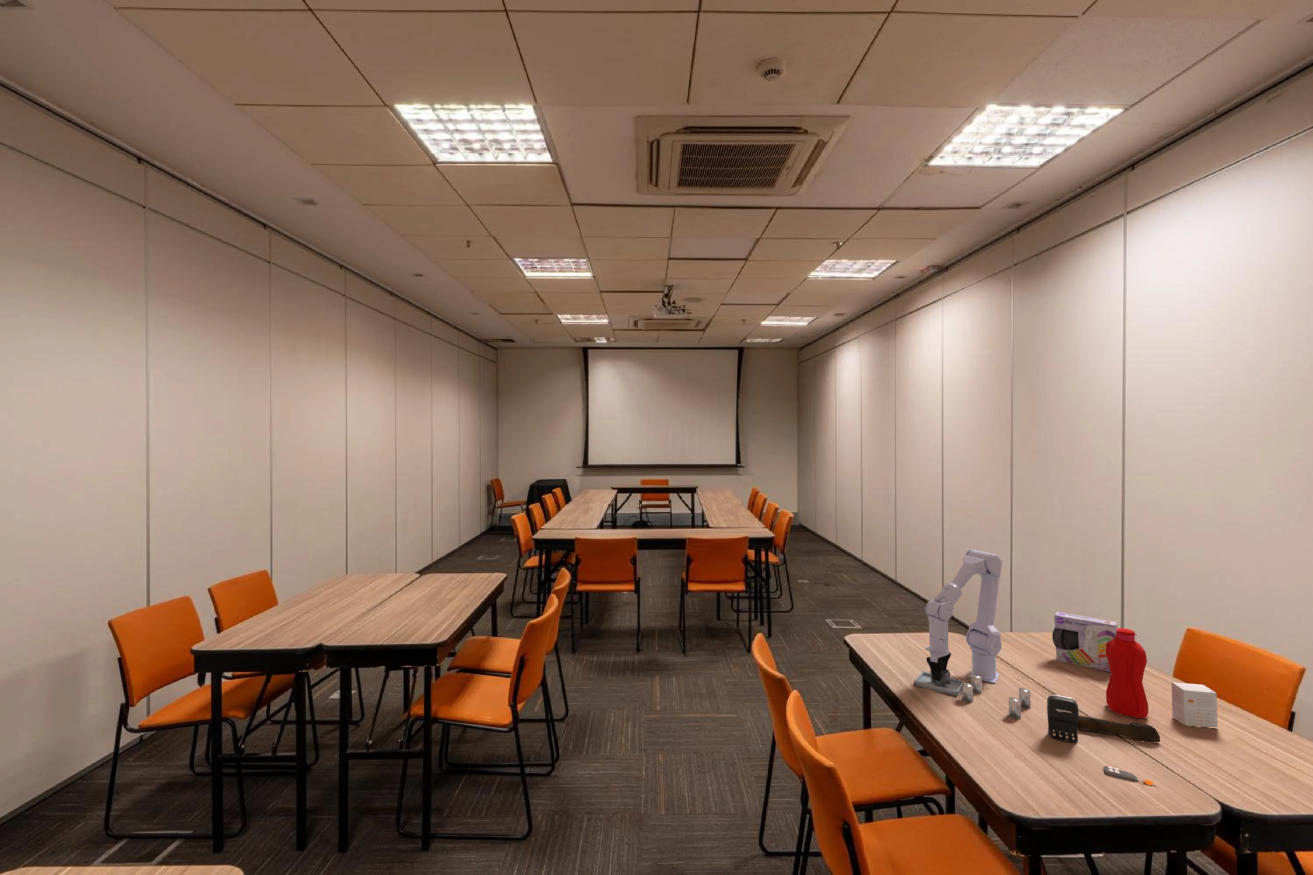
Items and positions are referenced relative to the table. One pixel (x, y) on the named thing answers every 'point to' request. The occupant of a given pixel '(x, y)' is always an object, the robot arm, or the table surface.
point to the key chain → (1123, 775)
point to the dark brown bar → (1120, 729)
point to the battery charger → (1062, 718)
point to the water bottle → (1126, 675)
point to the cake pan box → (1082, 640)
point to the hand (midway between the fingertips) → (939, 676)
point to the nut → (942, 678)
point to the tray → (951, 689)
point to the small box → (1194, 705)
